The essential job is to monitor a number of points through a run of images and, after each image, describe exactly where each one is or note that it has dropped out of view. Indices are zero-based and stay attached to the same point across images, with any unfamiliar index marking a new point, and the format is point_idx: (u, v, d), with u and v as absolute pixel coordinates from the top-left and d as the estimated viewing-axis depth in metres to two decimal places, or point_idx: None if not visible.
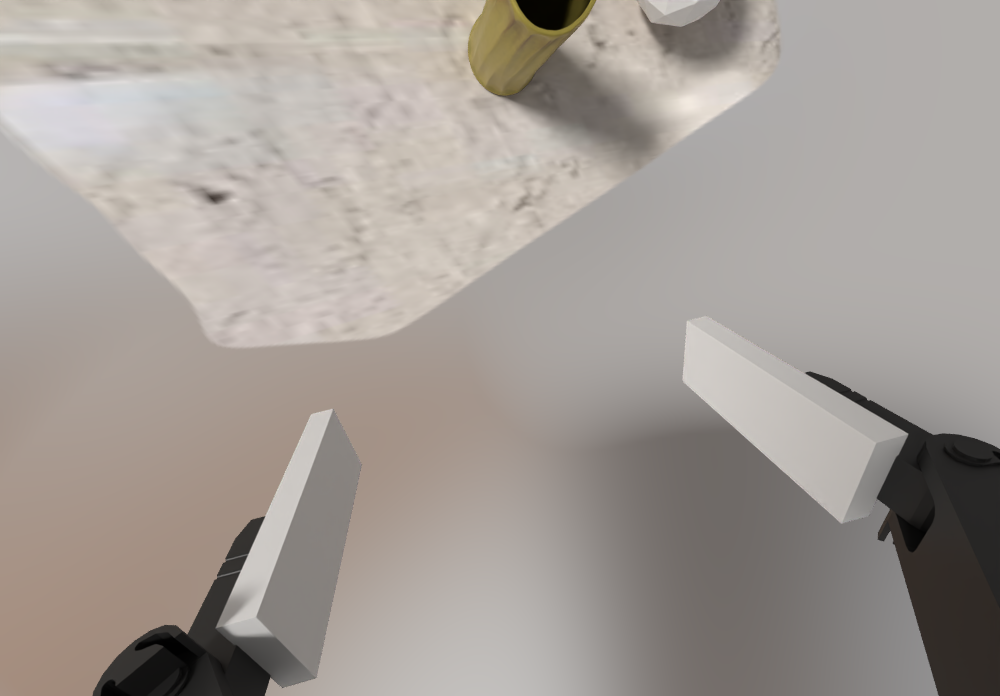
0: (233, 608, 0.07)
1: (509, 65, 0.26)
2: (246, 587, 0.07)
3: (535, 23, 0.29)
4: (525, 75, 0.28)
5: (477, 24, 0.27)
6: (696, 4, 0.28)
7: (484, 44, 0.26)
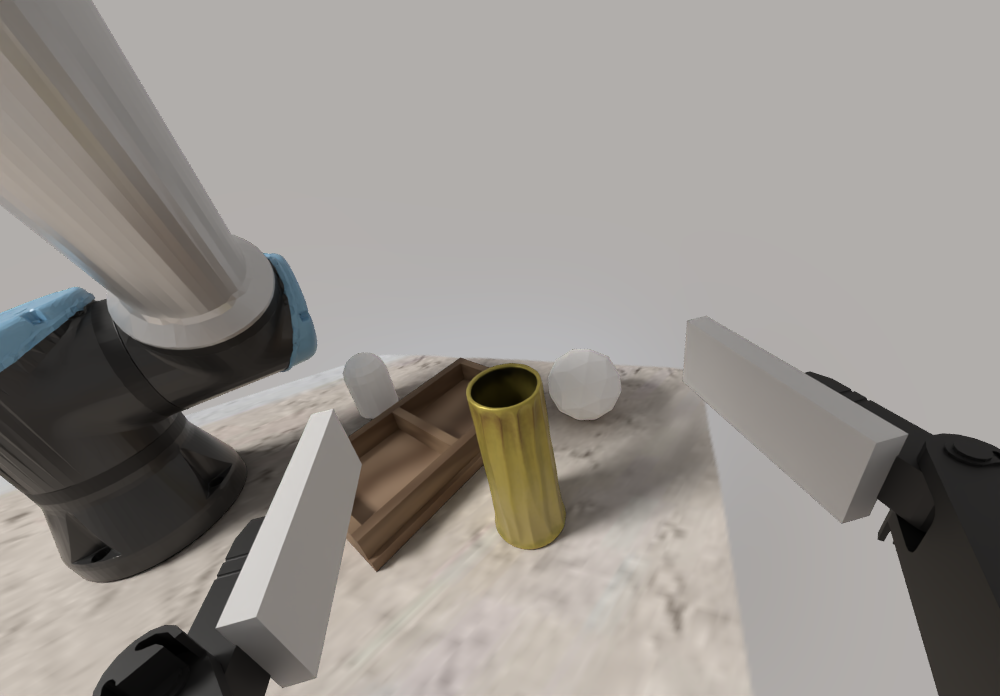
0: (233, 608, 0.07)
1: (530, 480, 0.26)
2: (246, 587, 0.07)
3: None
4: (551, 488, 0.28)
5: None
6: (608, 379, 0.37)
7: (503, 493, 0.27)
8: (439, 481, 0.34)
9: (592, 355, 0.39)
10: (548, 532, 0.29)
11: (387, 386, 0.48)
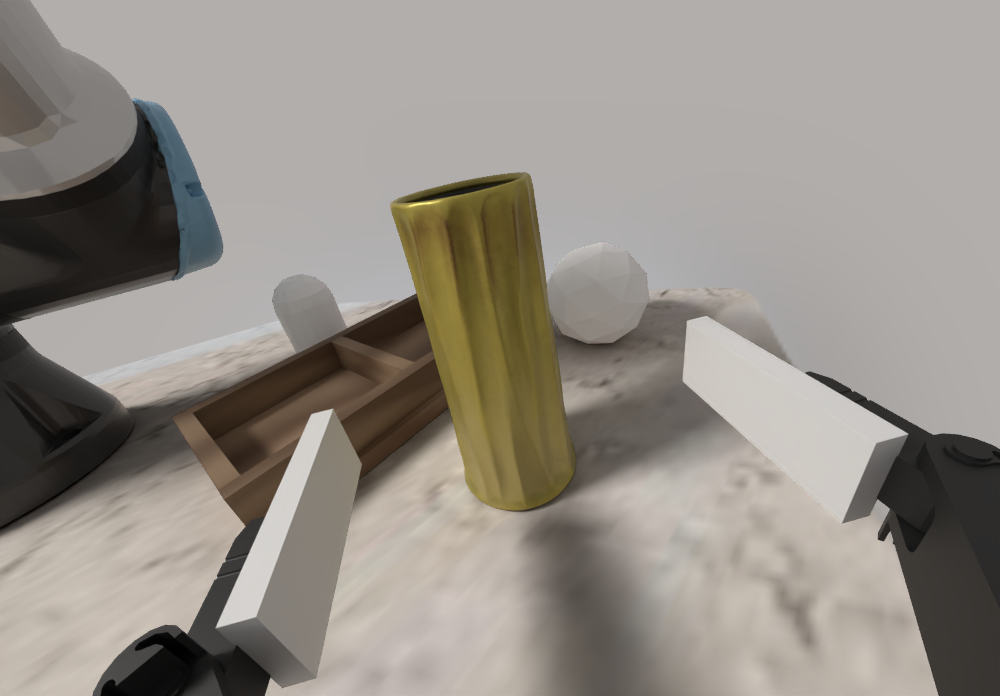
0: (233, 608, 0.07)
1: (513, 373, 0.14)
2: (246, 587, 0.07)
3: None
4: (552, 400, 0.16)
5: (454, 427, 0.17)
6: (632, 274, 0.26)
7: (468, 404, 0.15)
8: (382, 418, 0.23)
9: (608, 246, 0.27)
10: (548, 480, 0.17)
11: (334, 319, 0.36)
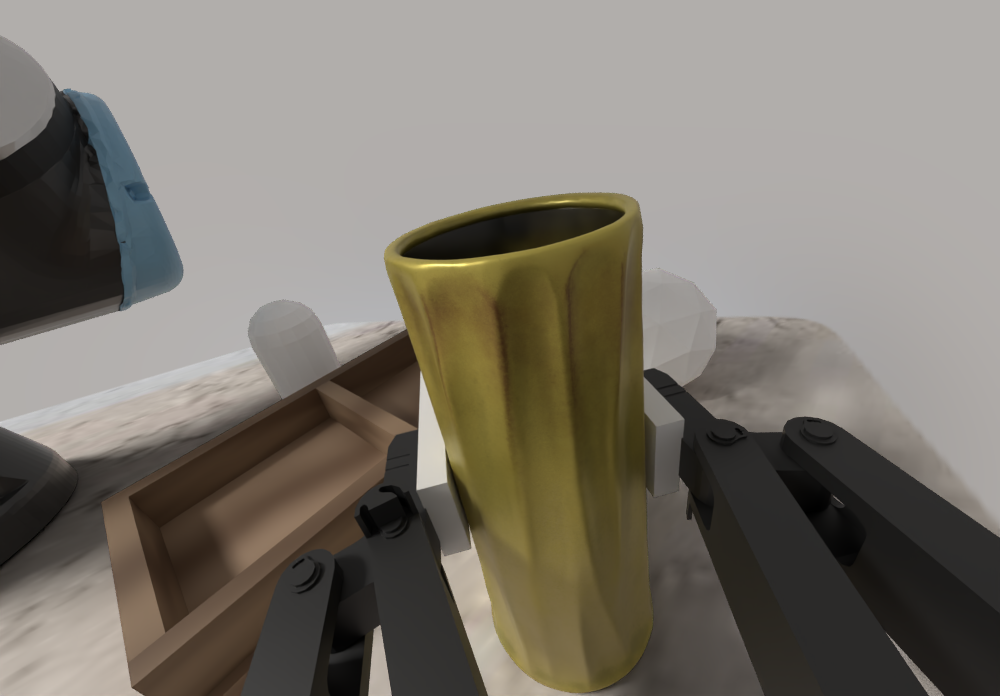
0: (424, 479, 0.09)
1: (592, 532, 0.09)
2: (428, 466, 0.09)
3: None
4: (638, 544, 0.10)
5: (483, 571, 0.12)
6: (703, 313, 0.20)
7: (512, 566, 0.09)
8: None
9: (667, 275, 0.21)
10: (624, 652, 0.12)
11: (322, 353, 0.30)
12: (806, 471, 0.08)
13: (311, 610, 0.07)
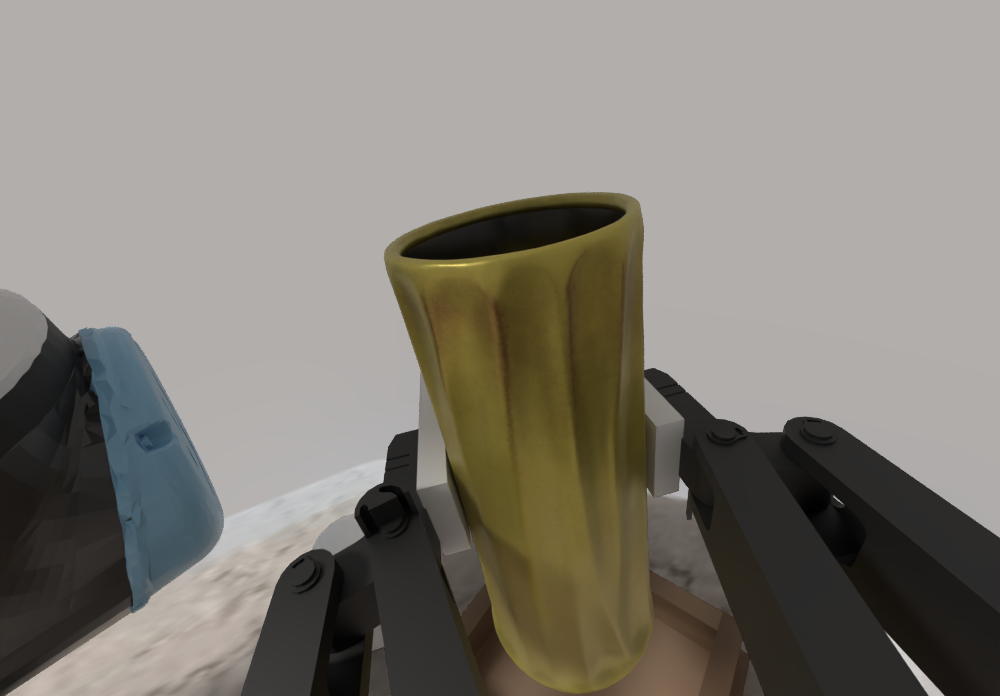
0: (424, 479, 0.09)
1: (592, 533, 0.08)
2: (428, 466, 0.09)
3: None
4: (638, 545, 0.10)
5: (483, 571, 0.12)
6: None
7: (512, 566, 0.09)
8: None
9: None
10: (624, 652, 0.12)
11: None
12: (806, 471, 0.08)
13: (311, 610, 0.07)
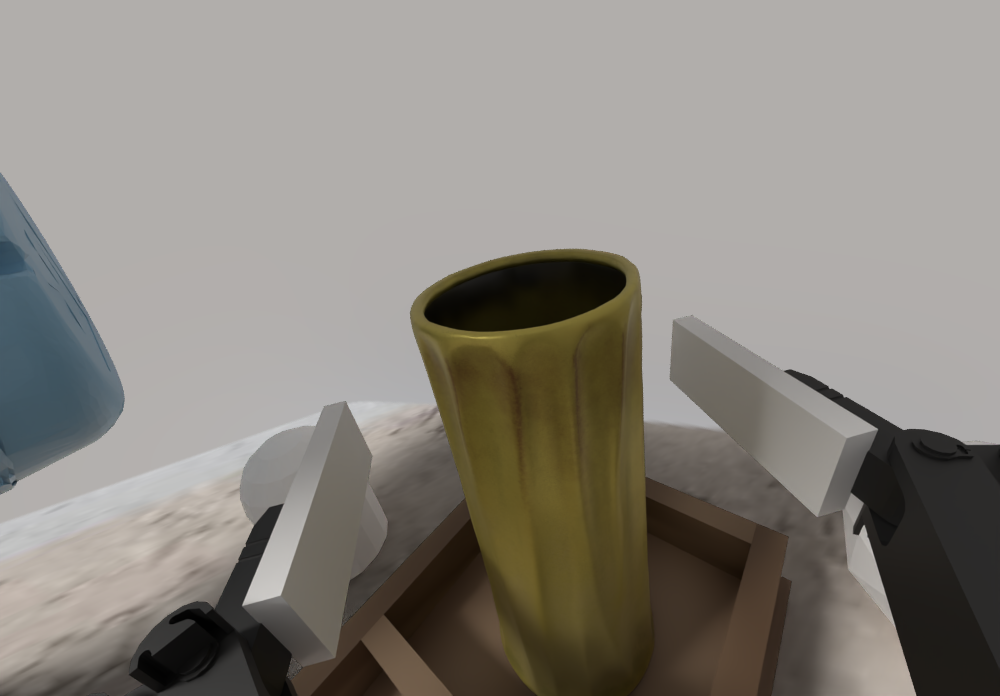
0: (258, 588, 0.07)
1: (596, 563, 0.09)
2: (269, 568, 0.08)
3: None
4: (639, 571, 0.11)
5: (492, 593, 0.12)
6: None
7: (521, 592, 0.10)
8: None
9: None
10: (626, 672, 0.12)
11: None
12: None
13: None
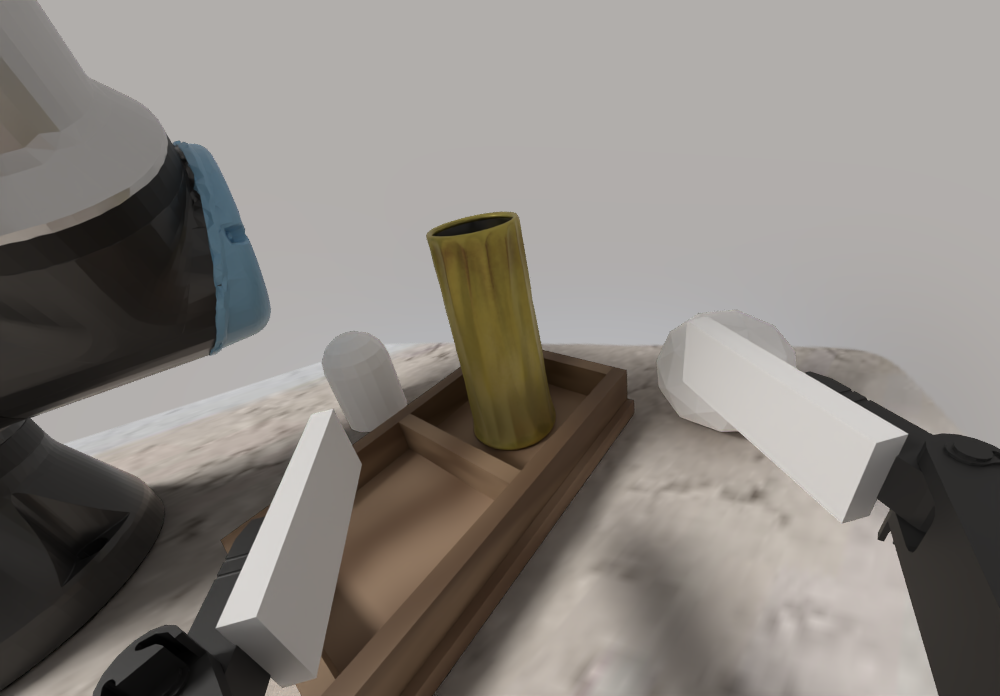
0: (233, 608, 0.07)
1: (507, 348, 0.21)
2: (246, 587, 0.07)
3: None
4: (535, 369, 0.23)
5: (466, 389, 0.24)
6: (788, 358, 0.21)
7: (476, 370, 0.22)
8: (493, 556, 0.18)
9: (747, 318, 0.22)
10: (533, 428, 0.24)
11: (390, 382, 0.31)
12: None
13: None
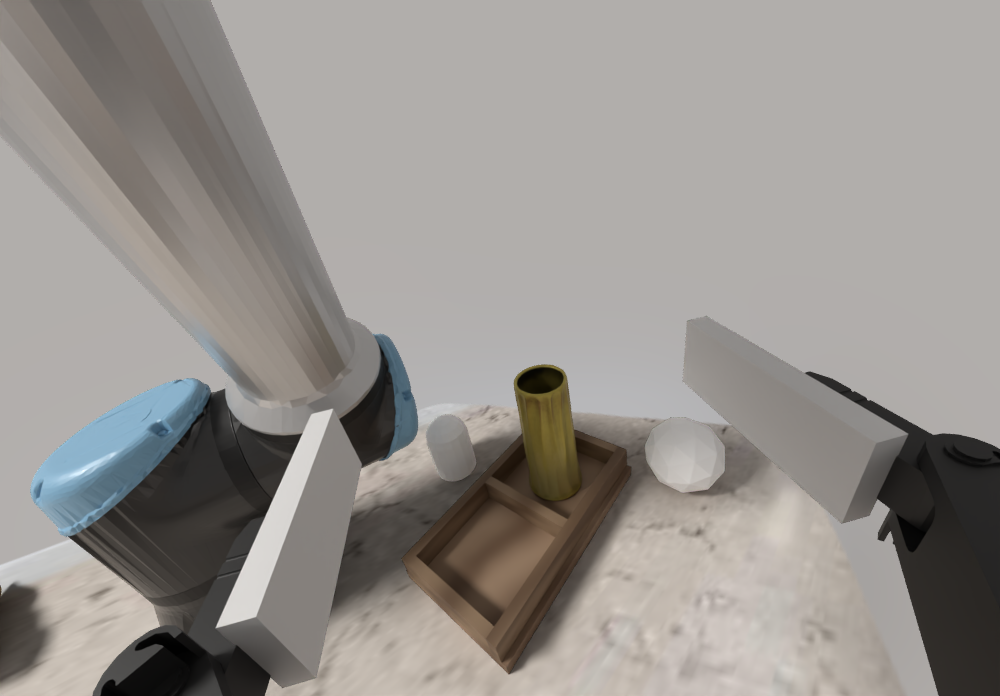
0: (233, 608, 0.07)
1: (558, 446, 0.37)
2: (246, 587, 0.07)
3: None
4: (572, 454, 0.39)
5: (529, 464, 0.40)
6: (718, 454, 0.36)
7: (538, 457, 0.38)
8: (556, 568, 0.33)
9: (697, 427, 0.38)
10: (570, 488, 0.40)
11: (469, 448, 0.47)
12: None
13: None
